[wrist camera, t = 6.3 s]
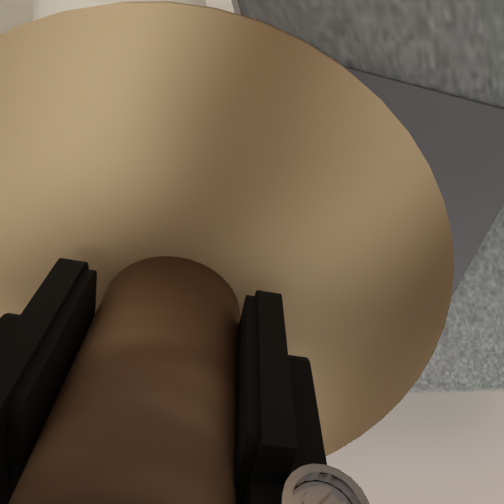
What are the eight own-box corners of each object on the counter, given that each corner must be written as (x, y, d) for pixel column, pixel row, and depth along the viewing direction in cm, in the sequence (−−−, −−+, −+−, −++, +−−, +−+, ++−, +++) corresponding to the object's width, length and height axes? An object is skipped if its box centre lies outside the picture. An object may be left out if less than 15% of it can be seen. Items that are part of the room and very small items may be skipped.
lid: (543, 78, 9) (960, 216, 4) (351, 484, 16) (405, 755, 10) (-164, -74, 8) (-1046, -193, 3) (-63, 436, 14) (-254, 717, 9)
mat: (542, 119, 25) (548, 121, 25) (420, 342, 33) (422, 347, 33) (252, 41, 24) (252, 43, 23) (196, 295, 32) (195, 300, 31)
